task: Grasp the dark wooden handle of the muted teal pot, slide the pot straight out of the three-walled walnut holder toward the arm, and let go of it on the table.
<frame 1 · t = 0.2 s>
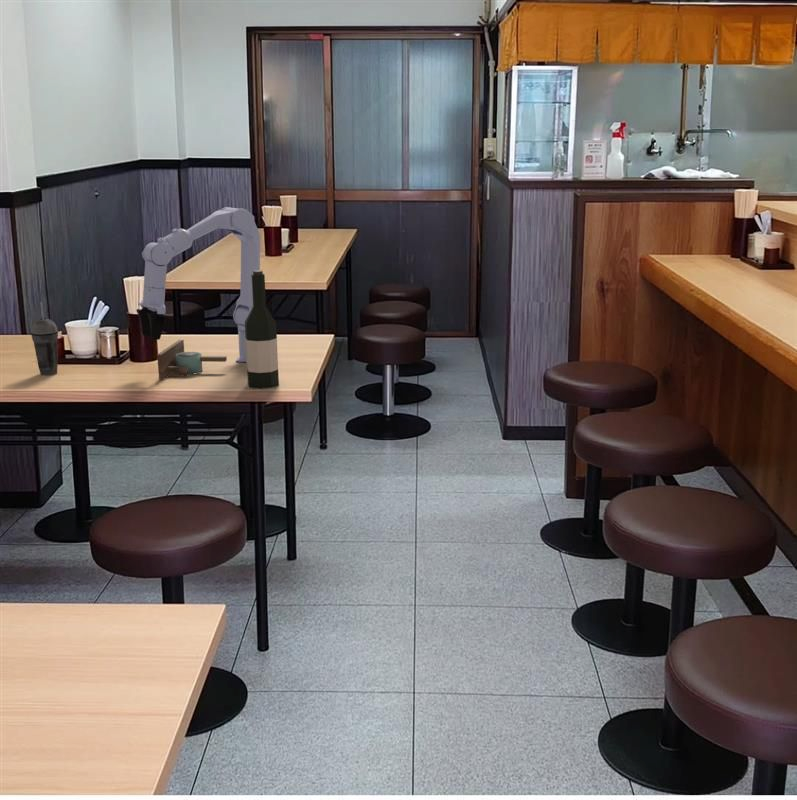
hand: (150, 337, 275), 11 cm above the table, tool pointing down, fingers open, 7 cm apart
wine bottle: (263, 385, 266), on the table
holder: (189, 371, 281), on the table
pot: (189, 371, 281), on the table
beverage cup: (48, 374, 281), on the table
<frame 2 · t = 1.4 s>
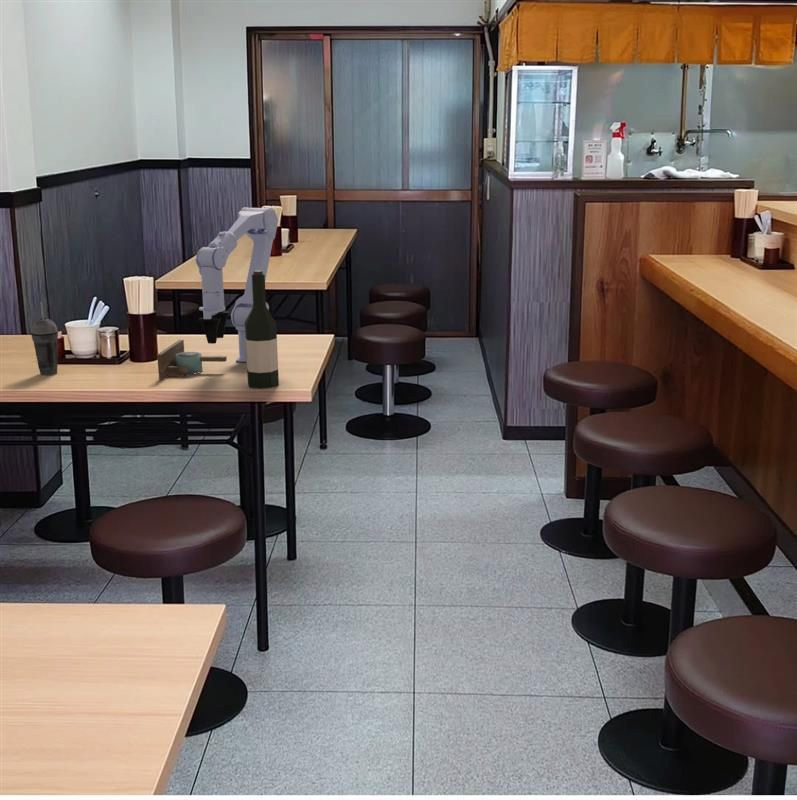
hand: (215, 340, 278), 9 cm above the table, tool pointing down, fingers open, 7 cm apart
nothing on the table moved.
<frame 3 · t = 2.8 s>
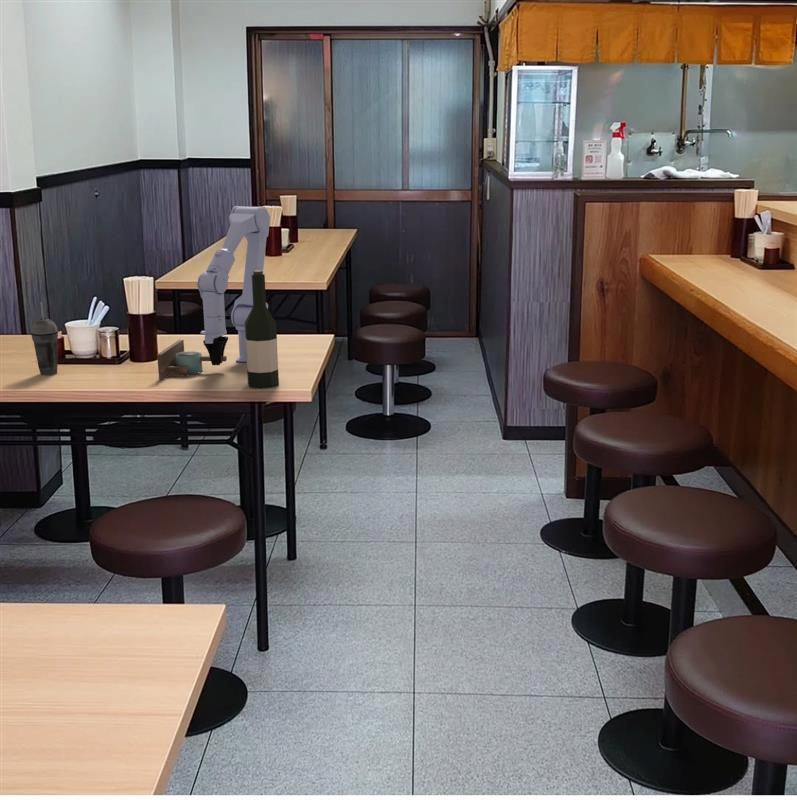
hand: (217, 364, 280), 2 cm above the table, tool pointing down, fingers closed on pot, 2 cm apart
pot: (189, 371, 281), on the table, touching gripper
everything else where it was.
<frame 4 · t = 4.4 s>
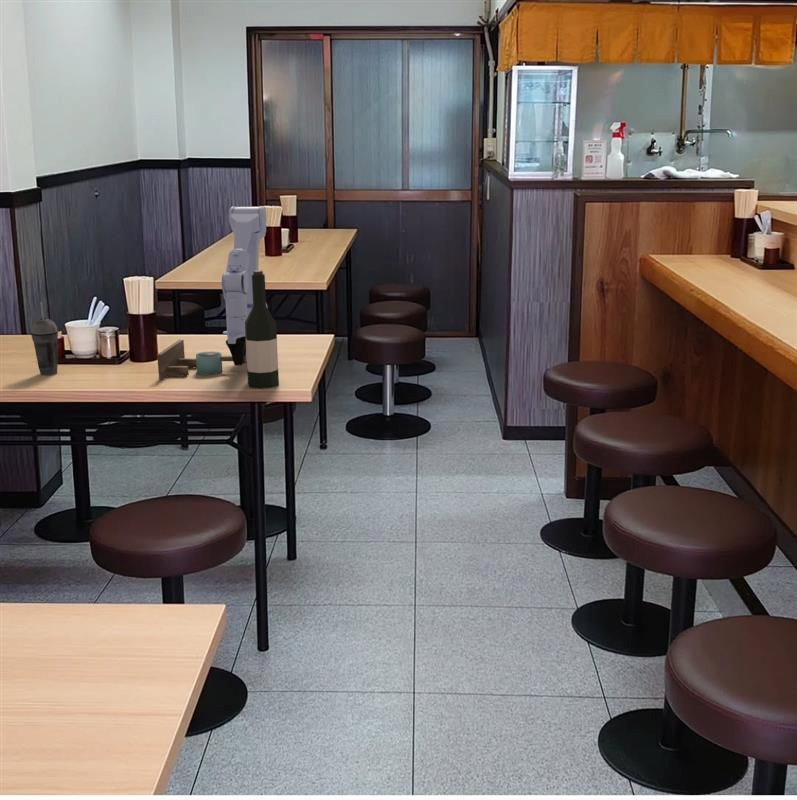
hand: (239, 364, 280), 2 cm above the table, tool pointing down, fingers closed on pot, 2 cm apart
pot: (209, 371, 281), on the table, touching gripper
everything else where it was.
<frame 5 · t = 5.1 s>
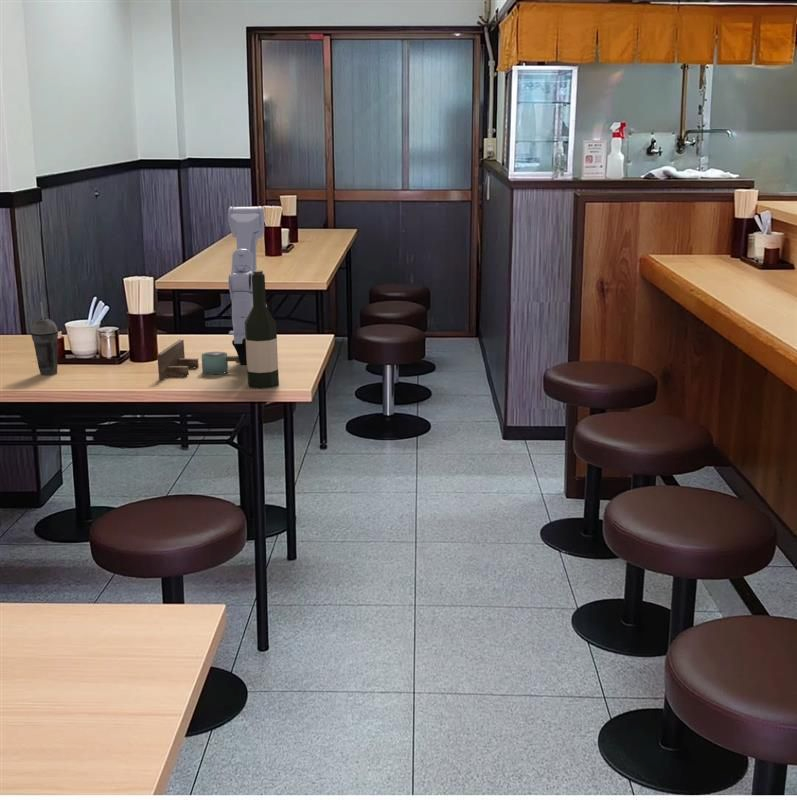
hand: (245, 364, 279), 2 cm above the table, tool pointing down, fingers closed on pot, 2 cm apart
pot: (215, 371, 281), on the table, touching gripper
everything else where it was.
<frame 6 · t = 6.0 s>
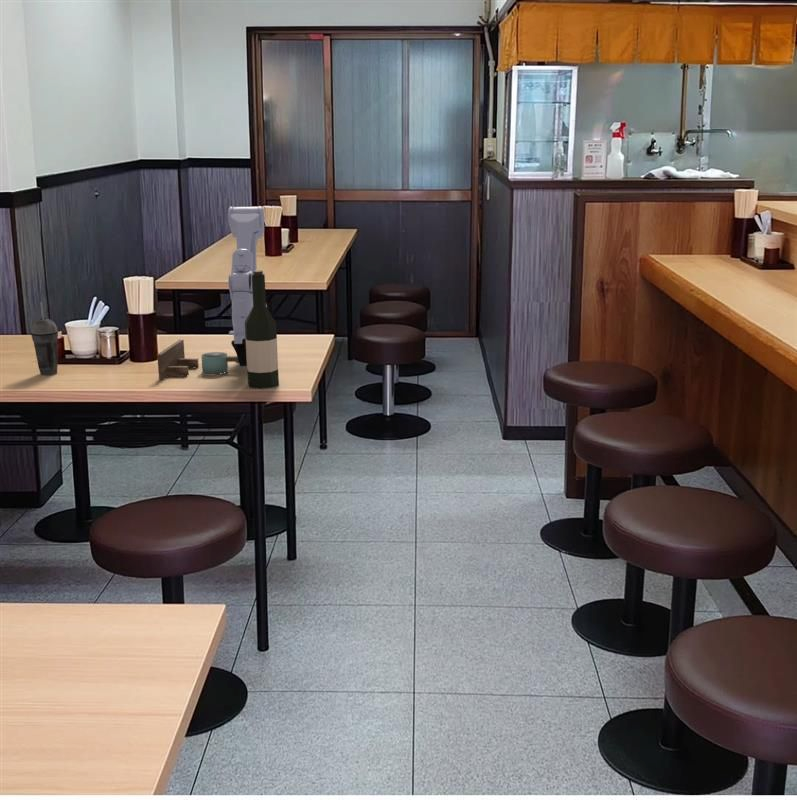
hand: (245, 364, 279), 2 cm above the table, tool pointing down, fingers open, 3 cm apart
pot: (215, 372, 281), on the table
everything else where it was.
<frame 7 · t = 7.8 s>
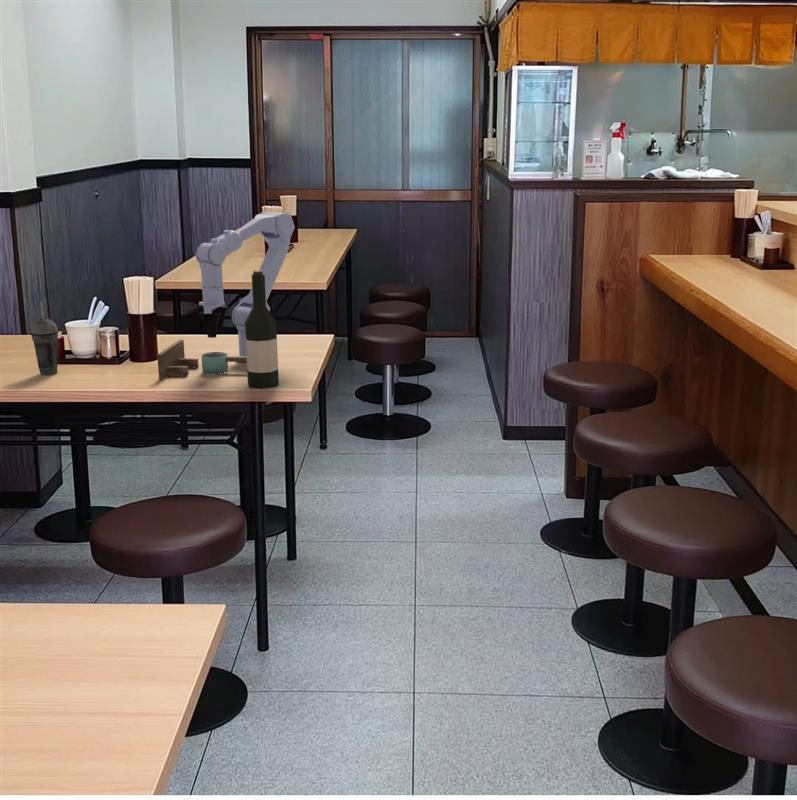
hand: (215, 334, 284), 9 cm above the table, tool pointing down, fingers open, 7 cm apart
nothing on the table moved.
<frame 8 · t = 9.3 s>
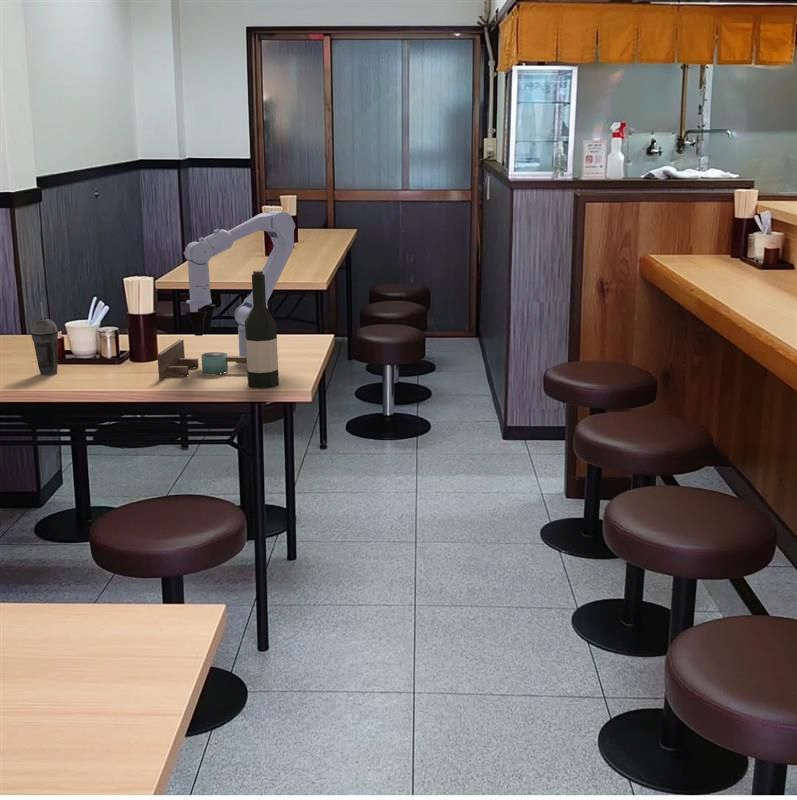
hand: (202, 332, 286), 9 cm above the table, tool pointing down, fingers open, 7 cm apart
nothing on the table moved.
at the end: pot inside the target area (1.0 cm from its centre), on the table; pot tilted 0°; the gripper is holding nothing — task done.
